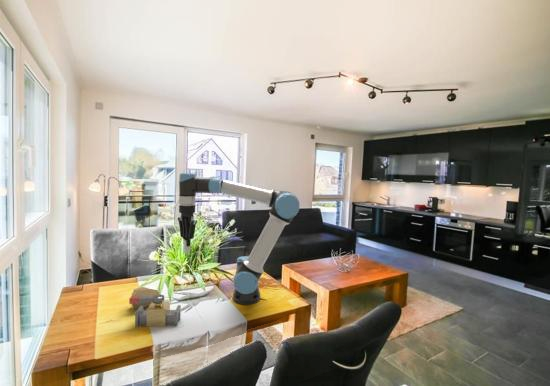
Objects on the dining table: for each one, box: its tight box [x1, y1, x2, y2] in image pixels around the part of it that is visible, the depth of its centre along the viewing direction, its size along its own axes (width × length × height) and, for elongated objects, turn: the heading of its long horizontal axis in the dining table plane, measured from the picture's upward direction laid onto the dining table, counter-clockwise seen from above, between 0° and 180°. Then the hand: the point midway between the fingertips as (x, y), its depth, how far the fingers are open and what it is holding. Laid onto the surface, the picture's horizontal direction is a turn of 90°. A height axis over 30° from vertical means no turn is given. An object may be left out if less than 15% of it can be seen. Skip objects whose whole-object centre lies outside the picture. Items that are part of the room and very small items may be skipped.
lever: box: [128, 294, 165, 305], centre depth 124 cm, size 14×5×2 cm, turn 97°
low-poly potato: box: [131, 286, 161, 310], centre depth 139 cm, size 15×11×12 cm
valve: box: [134, 301, 182, 328], centre depth 126 cm, size 18×7×10 cm, turn 96°
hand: (186, 252), depth 136 cm, fingers closed
